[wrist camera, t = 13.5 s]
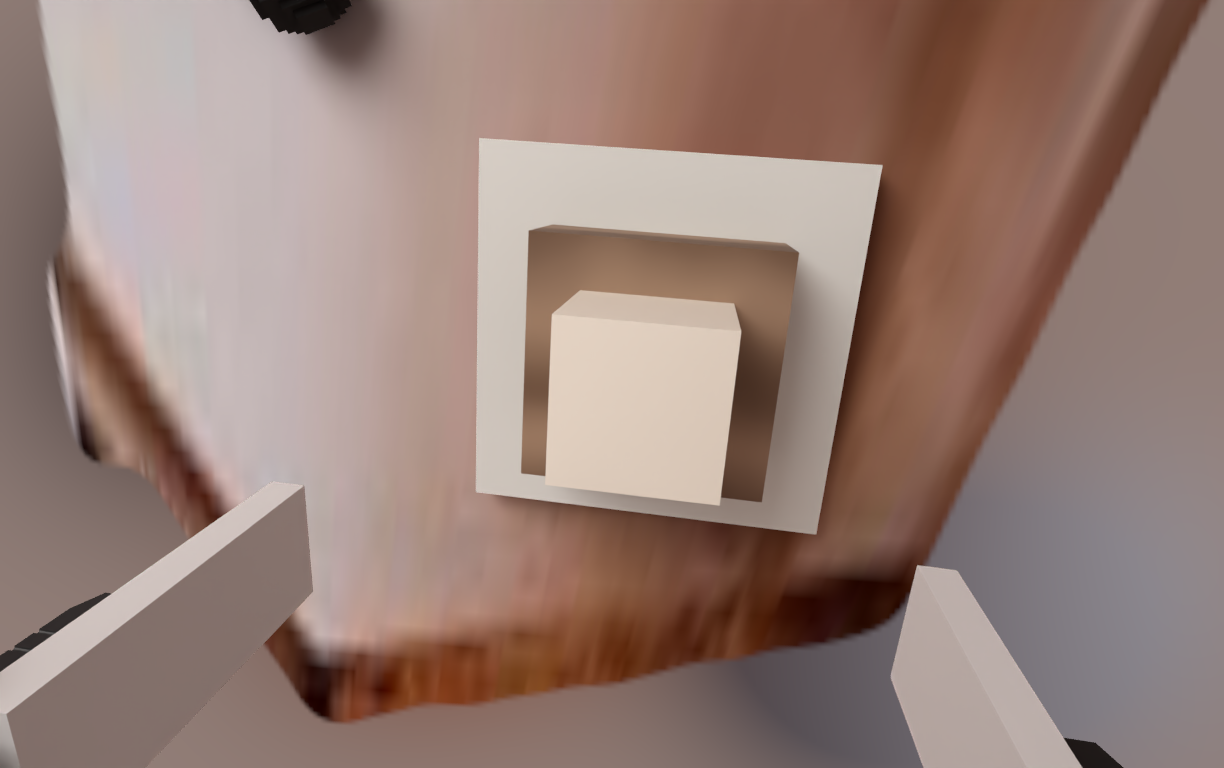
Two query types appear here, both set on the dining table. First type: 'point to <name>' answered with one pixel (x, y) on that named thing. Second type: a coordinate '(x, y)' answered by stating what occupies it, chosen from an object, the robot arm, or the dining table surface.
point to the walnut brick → (667, 270)
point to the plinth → (685, 205)
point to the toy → (301, 13)
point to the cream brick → (641, 395)
